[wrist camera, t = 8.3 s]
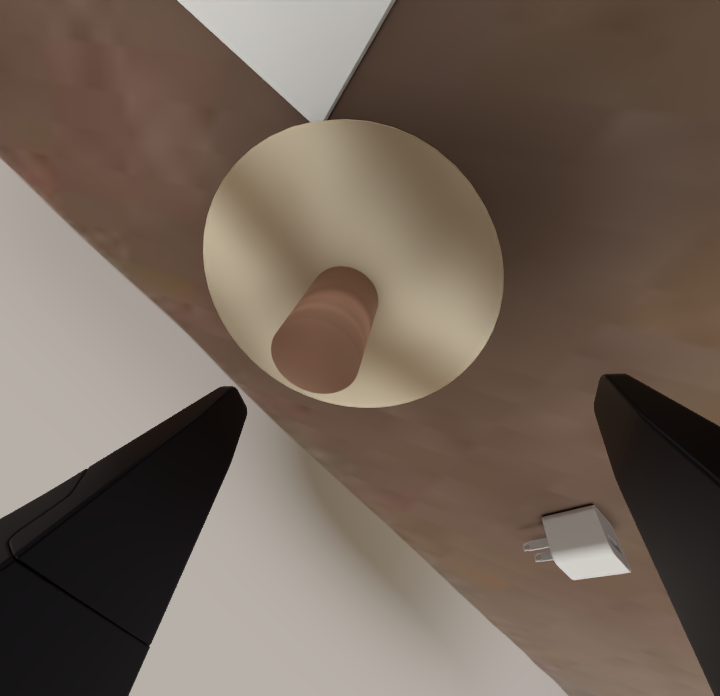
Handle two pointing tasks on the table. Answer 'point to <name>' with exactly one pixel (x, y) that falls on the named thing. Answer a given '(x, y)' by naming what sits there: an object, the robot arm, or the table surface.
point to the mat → (297, 43)
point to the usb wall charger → (581, 544)
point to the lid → (353, 263)
